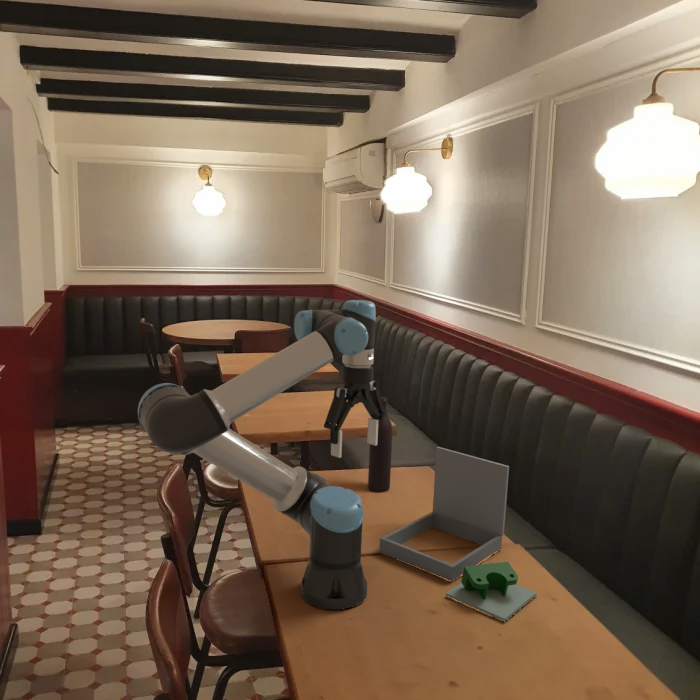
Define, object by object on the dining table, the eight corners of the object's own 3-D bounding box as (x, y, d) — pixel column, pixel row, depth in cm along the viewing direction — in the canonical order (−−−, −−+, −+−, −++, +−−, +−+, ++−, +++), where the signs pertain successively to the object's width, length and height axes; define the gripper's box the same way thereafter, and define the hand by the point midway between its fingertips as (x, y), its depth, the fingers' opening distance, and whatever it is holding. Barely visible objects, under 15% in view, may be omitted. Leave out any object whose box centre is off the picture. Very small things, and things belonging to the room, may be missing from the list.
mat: (504, 623, 147) (505, 618, 147) (445, 597, 157) (445, 593, 157) (536, 596, 159) (536, 592, 159) (479, 574, 168) (479, 570, 168)
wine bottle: (390, 485, 225) (394, 396, 220) (389, 493, 218) (393, 401, 213) (368, 483, 226) (372, 394, 220) (367, 491, 219) (370, 400, 213)
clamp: (476, 614, 156) (468, 588, 152) (465, 595, 161) (457, 569, 157) (523, 593, 158) (517, 566, 153) (511, 574, 163) (504, 548, 158)
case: (451, 582, 164) (457, 491, 160) (379, 552, 178) (383, 467, 174) (502, 549, 182) (509, 466, 178) (433, 524, 196) (438, 446, 192)
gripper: (334, 374, 153) (331, 465, 157) (401, 361, 172) (397, 442, 175) (310, 369, 158) (308, 457, 162) (378, 356, 177) (374, 436, 180)
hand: (354, 450), depth 169 cm, fingers open, 13 cm apart
